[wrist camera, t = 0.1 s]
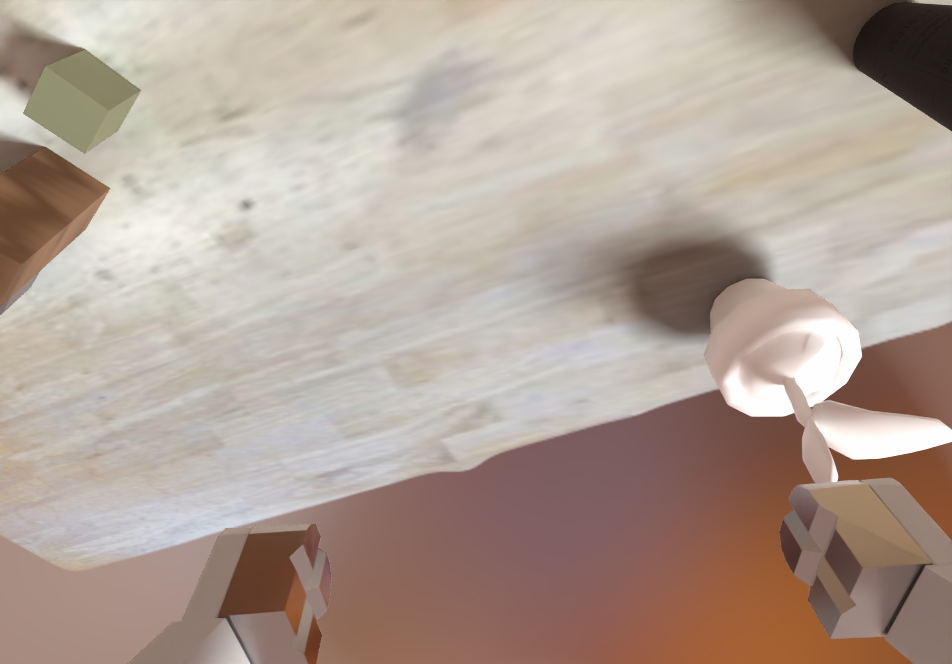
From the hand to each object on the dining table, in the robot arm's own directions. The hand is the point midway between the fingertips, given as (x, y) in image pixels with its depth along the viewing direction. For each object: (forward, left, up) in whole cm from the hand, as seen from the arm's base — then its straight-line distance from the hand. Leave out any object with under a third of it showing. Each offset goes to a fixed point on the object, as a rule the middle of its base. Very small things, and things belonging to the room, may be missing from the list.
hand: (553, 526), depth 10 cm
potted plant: (+25, +25, -39) cm, 53 cm away
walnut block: (+8, -34, -39) cm, 52 cm away
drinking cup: (+2, +30, -39) cm, 49 cm away
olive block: (+1, -27, -39) cm, 48 cm away
